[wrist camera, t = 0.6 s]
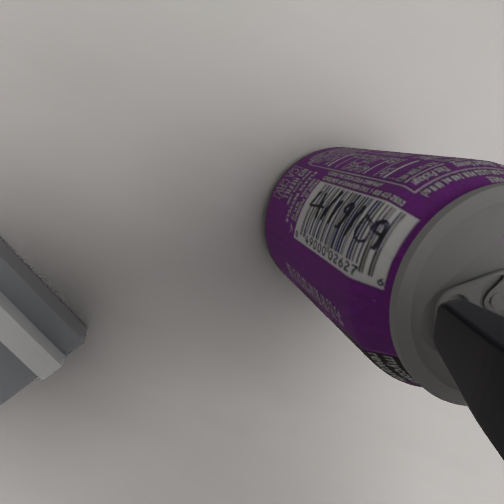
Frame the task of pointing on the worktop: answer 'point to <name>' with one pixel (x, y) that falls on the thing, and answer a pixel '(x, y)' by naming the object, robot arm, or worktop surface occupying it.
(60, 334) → the fader track
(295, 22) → the worktop surface
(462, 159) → the beverage can
